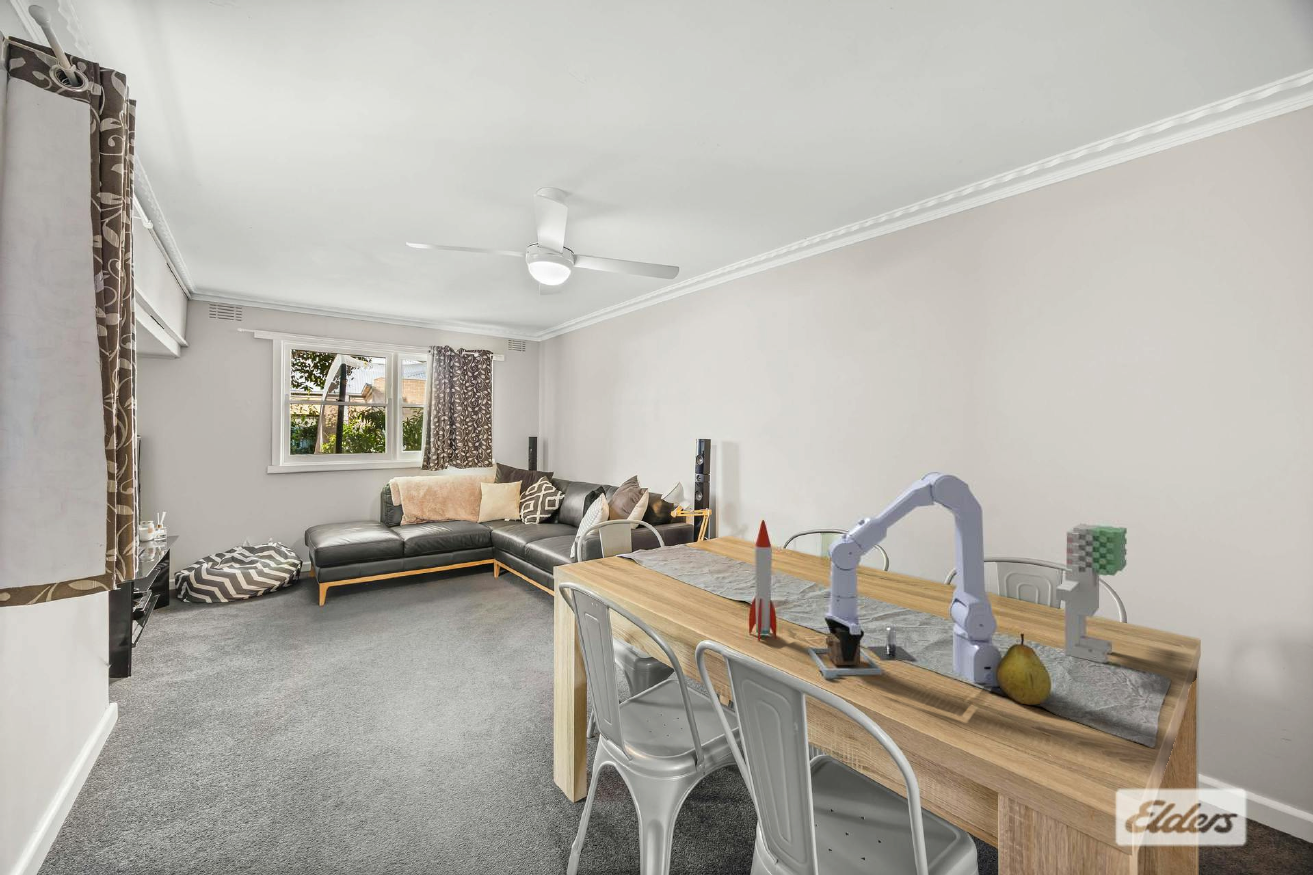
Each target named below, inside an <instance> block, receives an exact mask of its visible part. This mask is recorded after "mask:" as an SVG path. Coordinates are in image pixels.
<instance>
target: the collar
mask: <svg viewBox="0 0 1313 875" xmlns="http://www.w3.org/2000/svg"><path fill="white" fill-rule="evenodd" d="M825 644H826V646H827V653H826V654H827V656H828V658H829V659H830V660H831V662H833V664H834V665H835V666H860V665H861V655H860V648H861V641H860V642H859V644H858V647H857V650H856V654H855V658H854V661H844V660H843V656H842V650H841V644H840V639H839V636H838V634H837V633H830V632H829V633H827V638H825Z"/></svg>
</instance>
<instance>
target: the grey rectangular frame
mask: <svg viewBox="0 0 1313 875" xmlns="http://www.w3.org/2000/svg"><path fill="white" fill-rule="evenodd" d="M807 649H808V650H807V651H808V654H809V655H810V657H811V658H812V659H813V660H814V662H815V663H816V665H817V666H818V667H819V668H820V669H818V672H819V673H820V674H821V675H822V677H823V679H824V680H847V678H846V677H842V676H846V675H847V676H853V675H855V676H861V675H862V676H863V675H874V676H875V675H883V668H882V667H880V666H879V664H878V663H877V662H876V661H875V660H874V659H873V658H871V656H870V655H868V653H867V652H865V651H864V650H863V649H862V648H861V647H860V657H861V658H863V659H864V660H865V661H866V662H867V663H868V665H870V667H871V668H827V666H826V665H825V664H824V662H823V661H822V660H821V659H820V657H819V656H818V655H817V654H827V647H825V646H824V647H808V648H807Z"/></svg>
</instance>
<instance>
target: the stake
mask: <svg viewBox="0 0 1313 875" xmlns="http://www.w3.org/2000/svg"><path fill="white" fill-rule="evenodd" d="M885 633H886V641H885V642H886V643H885V645H886V646H885V645H884V646H882V645H881V646H880V645H876V646H867V648H868V649H869V650H870V652H872V653H873V654H874V655H875V656H876V658H878V659H879V660H881V661H917V659H916V658H915V656H912V655H911V654H910V652H908V651H906V649H904V648H903V647H902V646H900V645H899V646H898V645H897V628H896V627H894V626H887V627H886V630H885Z"/></svg>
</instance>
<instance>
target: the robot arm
mask: <svg viewBox="0 0 1313 875" xmlns="http://www.w3.org/2000/svg"><path fill="white" fill-rule="evenodd" d="M935 503H937V504H939V505H941V506H942V507H943V508H944V509H946V510H947V511H948V512H950V513H951V514H952V515H953V516H954V536H955V537H954V538H955V539H954V540H955V568H956V569H955V570H956V572H955V573H956V587H955V589H954V591H953V592H952V597H953V598H952V601H951V603H950V605H949V607H948V614H949V616H950V618H951V620H952V621H953V622H954V626H953V628H952V669H953V671H954V672H955V673H957V674H958V675H962V676H963V677H965V678H966V679H968V680H969V682H971V683H974V684H985V685H984V687H1000V685H999V683H998V681H997V676H996V671H997V667H998V665H999V663H1000V661H1001V659H1002V658H1003V656H1002V653H1001V651H1000V650H999V648H998V647H996V646H995V644H994V642H993V638H992V636H994V634H995V633H996V631H997V628H998V622H997V620H996V617H995V616H994V614H993V612H992V604H991V602H990V599H989V597H988V595H987V593H986V589H985V586H986V584H985V558H984V557H985V556H984V528H983V527H984V526H983V525H984V524H983V508H982V506H981V504H980V503H979V501H978V500H977V499H976V497H975V496H974V494H973V493H972V491H971V490H970V487H969V484H968V483H966V482H965V481H964V480H962V479H960V478H959V477H957V476H956V475H952V474H944V473H941V472H936V471H932V472H928V473H926V474H924V476H922V478H921V479H918V480H916V481H914V482H913V483H912V484H911V485H910V486H909V487H907V489H905V491H904V492H903V493H901V494H900V495H899V496H898V497H897V498H896V499H895V500H894V501H892V502H891V503H890V504H889V505H888V506H887V507H886V508H885V509H884V510H882V511H881V512H880V513H879V514H878V515H877V516H875V517H874V516H867V517H865V518H864V519H863V518H862V517H860V519H858V520H857V521H856V522H857V525H856V526H854V527H853V528H852V529H850V531H849V530H848V532H847V533H842V534H841V535H840V537H841V538H840V539H836V540H834V541H833V542H831V543H830V545H829V548H828V550H827V554H828V557H829V559H830V560H831V561H830V573H829V574H830V575H829V581H830V582H829V584H830V585H829V587H830V588H829V590H830V592H829V594H830V597H829V600H830V601H829V602H830V603H828V606H827V607H828V609H827V612H825V613H824V621H825V623H826V624H827V627H828V631H829V633H837V634H838V636H839V639H840V644H841V650H842V656H843V660H844V661H854V658H855V654H856V650H857V647H858V644H859V642H860V643H861V640H862V639H863V637H864V635H865V632H864V631H863V629H862V628H861V627H862V626H861V624H860V621H859V620H860V619H859V614H858V574H857V567H858V566H859V565H860V562H861V559H862V558H861V557H863V556H865V555H866V554H867V553H868V552H870V551H871V550H872V549H873V548H875V547H877V545H878V544H879V543H881V542H882V541H883V540H885V539H886V538H887V533H888V532H887V531H888V529H889V528H890V527H892V525H894V524H896V522H898V521H900V519H903V518H904V517H905V516H906V515H908V514H909V513H910V512H912V511H913V510H915V509H916V508H918V507H928V506H935V505H936V504H935Z"/></svg>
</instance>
